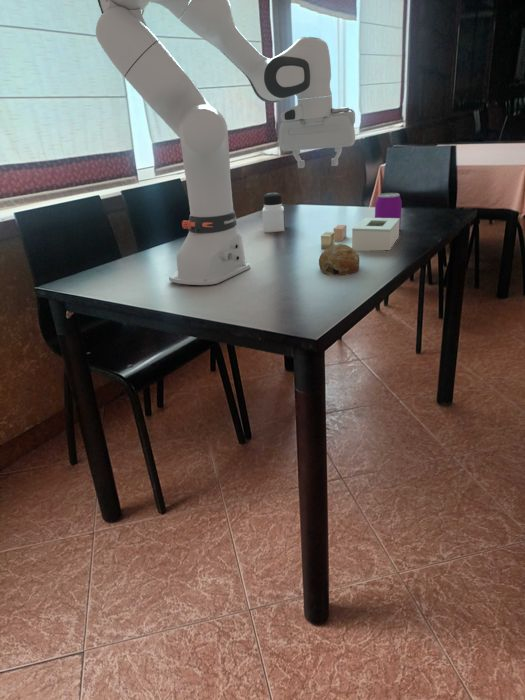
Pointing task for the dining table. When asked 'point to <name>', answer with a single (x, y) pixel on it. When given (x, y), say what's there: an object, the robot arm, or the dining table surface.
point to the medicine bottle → (273, 213)
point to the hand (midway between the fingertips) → (317, 166)
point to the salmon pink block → (340, 232)
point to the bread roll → (339, 260)
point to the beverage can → (388, 206)
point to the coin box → (375, 234)
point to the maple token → (327, 240)
